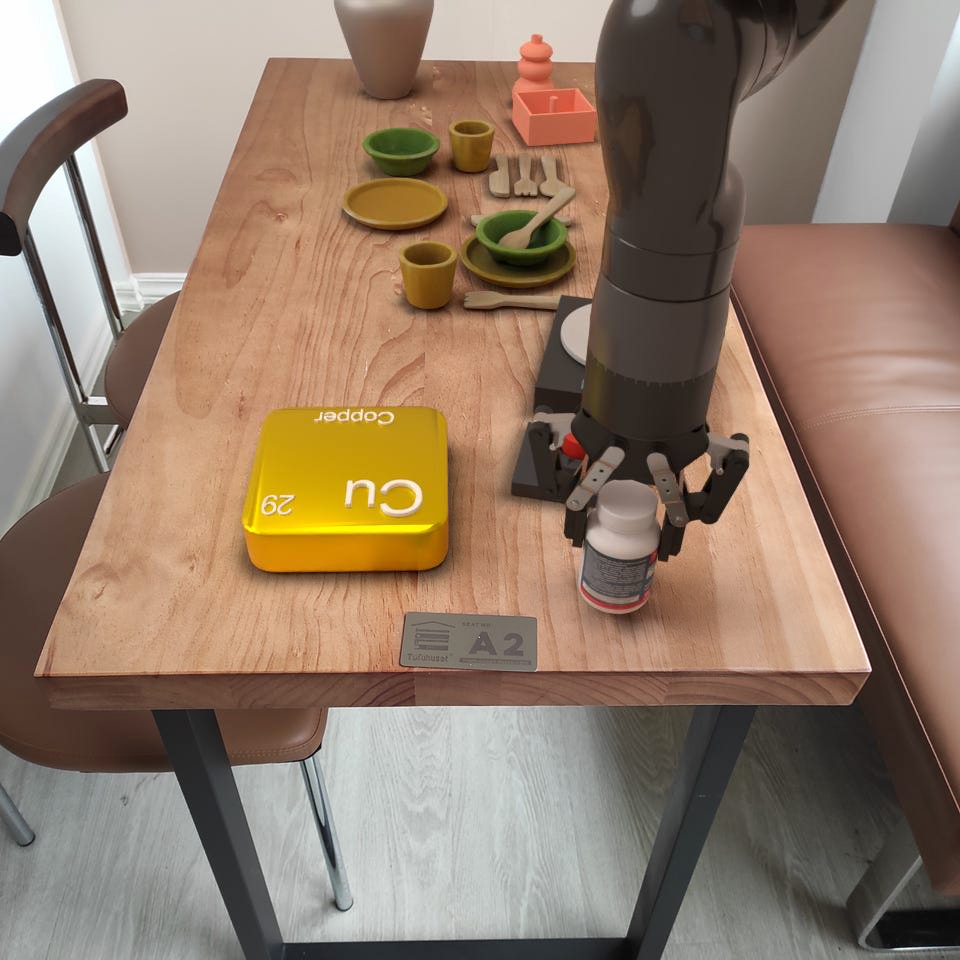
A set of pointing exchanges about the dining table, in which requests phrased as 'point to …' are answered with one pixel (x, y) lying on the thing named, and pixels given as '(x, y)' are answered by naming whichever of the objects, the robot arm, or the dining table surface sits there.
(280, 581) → the dining table surface
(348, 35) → the vase
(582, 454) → the button
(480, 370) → the dining table surface
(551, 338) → the scale
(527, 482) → the block
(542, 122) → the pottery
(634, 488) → the pill bottle
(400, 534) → the element tile
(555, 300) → the tableware set
